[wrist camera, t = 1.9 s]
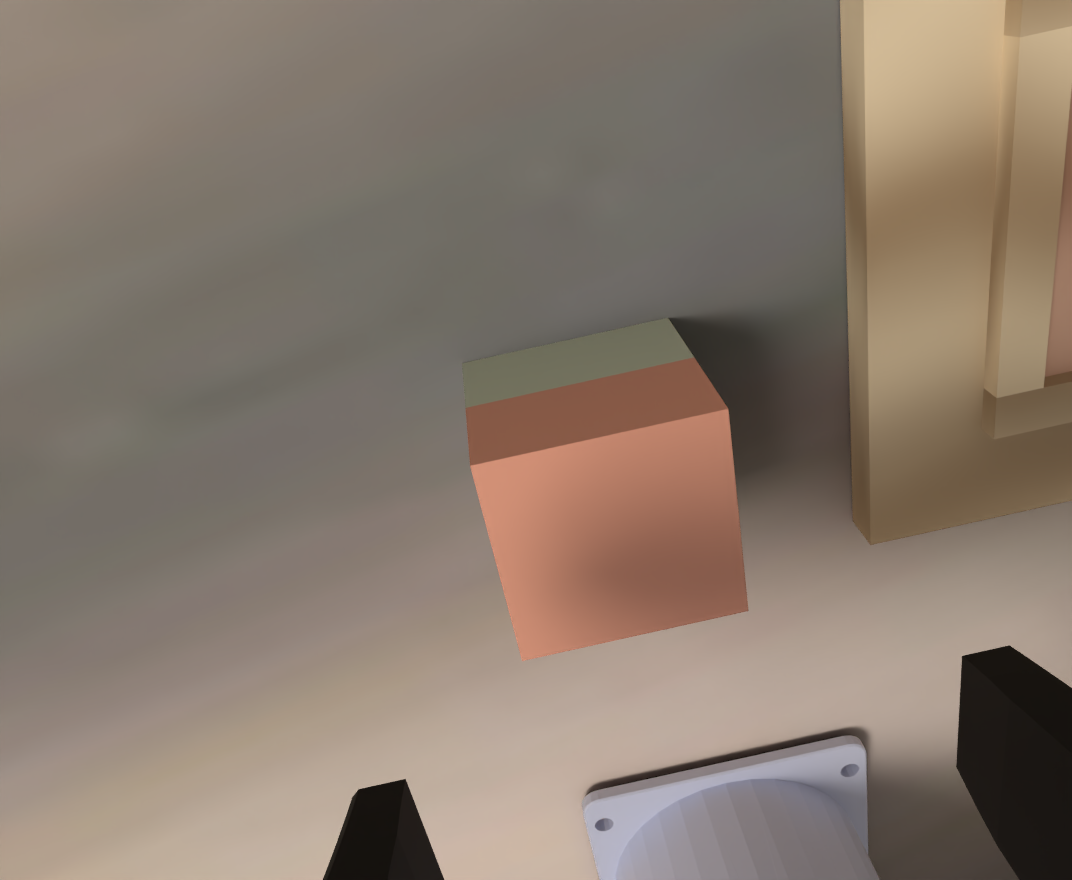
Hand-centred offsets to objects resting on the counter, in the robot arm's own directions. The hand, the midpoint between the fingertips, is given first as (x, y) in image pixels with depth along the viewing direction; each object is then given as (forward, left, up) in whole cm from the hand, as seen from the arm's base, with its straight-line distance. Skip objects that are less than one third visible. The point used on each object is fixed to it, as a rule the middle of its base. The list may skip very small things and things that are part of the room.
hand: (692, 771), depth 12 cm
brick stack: (0, 0, -10) cm, 10 cm away
